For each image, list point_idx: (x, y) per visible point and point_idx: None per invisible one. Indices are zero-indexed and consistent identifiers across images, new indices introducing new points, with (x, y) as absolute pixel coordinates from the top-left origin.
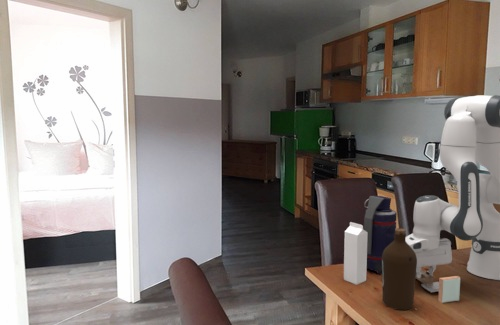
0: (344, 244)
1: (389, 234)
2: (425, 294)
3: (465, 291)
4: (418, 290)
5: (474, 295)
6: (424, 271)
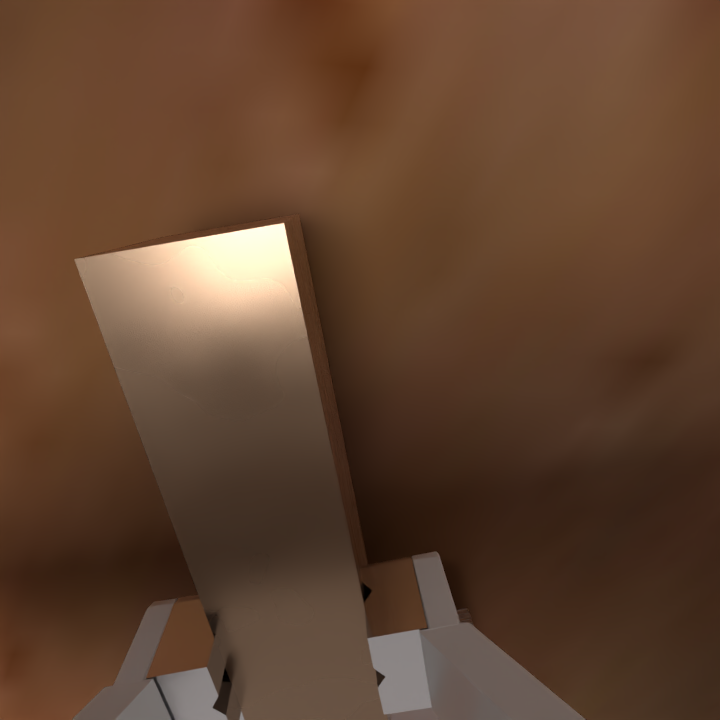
0: None
1: None
2: None
3: (680, 648)
4: None
5: (692, 713)
6: (350, 573)
